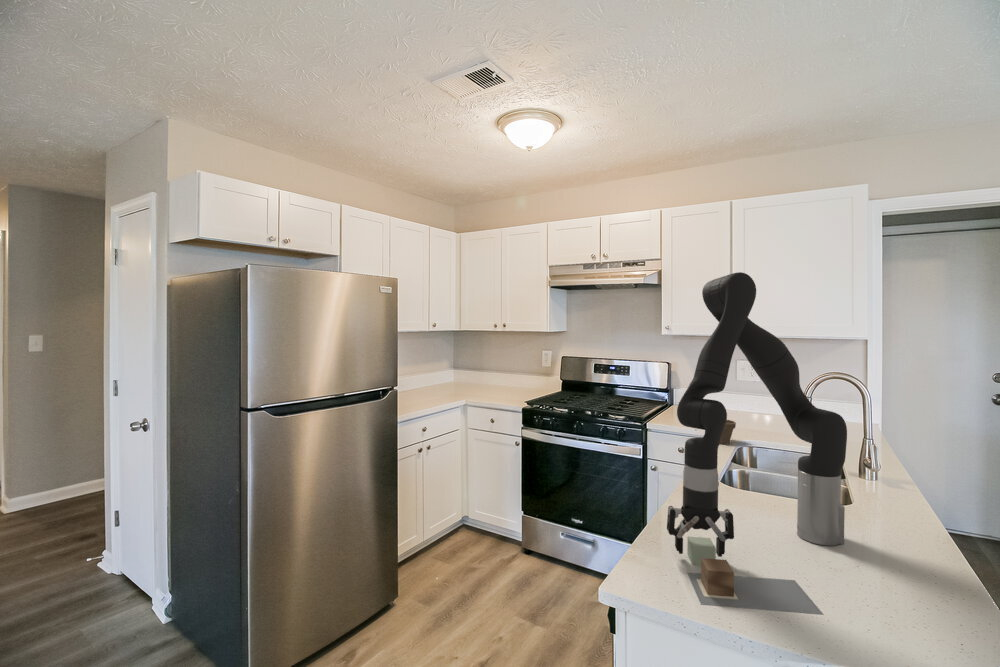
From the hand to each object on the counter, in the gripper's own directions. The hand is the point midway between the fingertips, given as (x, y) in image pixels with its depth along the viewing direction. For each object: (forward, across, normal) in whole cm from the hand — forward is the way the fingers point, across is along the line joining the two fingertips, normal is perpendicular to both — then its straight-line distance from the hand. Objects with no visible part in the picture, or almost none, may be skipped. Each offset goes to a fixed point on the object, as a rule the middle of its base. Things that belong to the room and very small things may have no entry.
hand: (699, 553), depth 111 cm
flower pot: (+2, -37, -114) cm, 120 cm away
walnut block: (+1, -1, +12) cm, 12 cm away
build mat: (+2, -7, +12) cm, 14 cm away
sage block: (+2, 0, 0) cm, 2 cm away
